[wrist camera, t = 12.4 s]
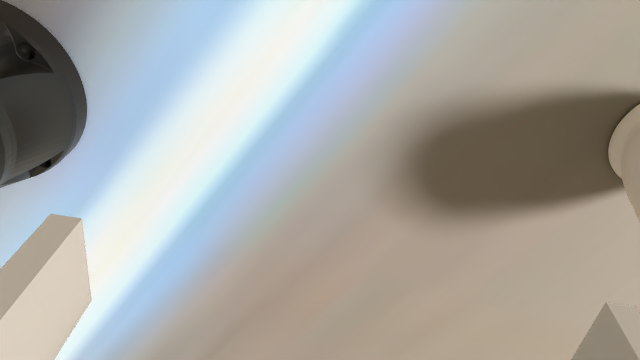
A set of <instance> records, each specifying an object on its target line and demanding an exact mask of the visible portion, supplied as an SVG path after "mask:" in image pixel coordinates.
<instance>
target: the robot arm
mask: <svg viewBox="0 0 640 360" xmlns="http://www.w3.org/2000/svg"><path fill="white" fill-rule="evenodd" d="M86 116H87V104H86V96H85V91H84V88H83V84H82V81H81V78H80V76H79V74H78V71H77V69H76V67H75V65H74V63H73V62H72V60H71V58H70V57H69V55H68V54H67V52H66V51H65V49H64V48H63V47H62V46H61V44H60V43H59V42H58V41H57V40H56V38H55V37H54V36H53V35H52V34H51V33H50V32H49V31H48V30H47V29H46V28H45V27H43V26H42V25H41V24H40V23H39V22H37V21H36V20H35V19H34V18H32V17H31V16H29V15H28V14H26V13H25V12H23V11H22V10H20V9H18V8H16V7H15V6H13V5H11V4H9V3H7V2H4V1H2V0H0V188H1V187H4V186H7V185H10V184H13V183H16V182H19V181H22V180H25V179H28V178H31V177H34V176H37V175H39V174H42V173H44V172H46V171H48V170H49V169H51V168H52V167H54V166H55V165H56V164H58V163H59V162H60V161H61V160H62V159H63V158H64V157H65V156H66V155H67V154H68V153H69V152H70V151H71V150H72V149H73V148H74V147H75V146H76V144H77V143H78V141H79V140H80V138H81V136H82V133H83V131H84V128H85V123H86ZM90 302H91V292H90V283H89V275H88V266H87V258H86V249H85V241H84V232H83V224H82V219H80V218H74V217H68V216H61V215H55V214H50V215H49V216H48V217H47V218H46V220H45V221H44V222H43V223H42V224H41V225H40V226H39V227H38V228H37V229H36V231H35V232H34V233H33V234H32V235H31V236H30V237H29V238H28V239H27V240H26V242H25V243H24V244H23V245H22V246H21V247H20V248H19V249H18V250H17V252H16V253H15V254H14V255H13V256H12V257H11V258H10V259H9V260H8V261H7V263H6V264H5V265H4V266H3V267H2V268H1V269H0V360H54V359H55V357H56V356H57V354H58V353H59V351H60V349H61V348H62V346H63V345H64V343H65V341H66V340H67V338H68V337H69V335H70V334H71V332H72V330H73V329H74V327H75V326H76V324H77V322H78V321H79V319H80V318H81V316H82V314H83V313H84V311H85V310H86V308H87V306H88V305H89V303H90ZM571 360H640V312H639V310H638V309H637V307H635V306H629V305H623V304H616V303H610V302H606V303H605V304H604V306H603V308H602V309H601V311H600V313H599V314H598V316H597V318H596V319H595V321H594V323H593V324H592V326H591V328H590V329H589V331H588V333H587V334H586V336H585V338H584V339H583V341H582V343H581V344H580V346H579V348H578V349H577V351H576V353H575V354H574V356H573V358H572V359H571Z"/></svg>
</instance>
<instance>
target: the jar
mask: <svg viewBox="0 0 640 360" xmlns="http://www.w3.org/2000/svg"><path fill="white" fill-rule="evenodd" d="M608 156H609V161H610V164H611V167H612V169H613V170H614V172H615V173H616V174H617V175H618V176H619V177H620V178H621V179H622V180H623V185H624V188H625V191H626V193H627V196H628V198H629V200H630V202H631V204H632V206H633V208H634V210H635V213H636V215H637V217H638V219H639V221H640V104H639V105H638V106H636V107H635V108H633V109H632V110H631V111H630V112H629V113H628V114H627V115H626V116H625V117H624V118H623V119H622V120H621V121H620V123H619V124H618V126H617V127H616V129H615V130H614V132H613V134H612V137H611V140H610V143H609V149H608Z"/></svg>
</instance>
